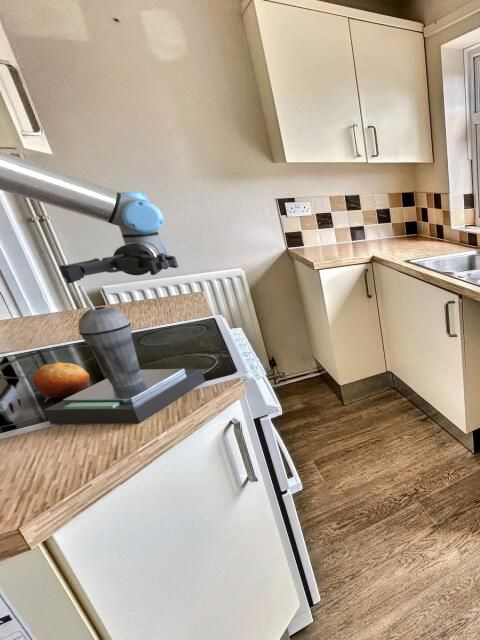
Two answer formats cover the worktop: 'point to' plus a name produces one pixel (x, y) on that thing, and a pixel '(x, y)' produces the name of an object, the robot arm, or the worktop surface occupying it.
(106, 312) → the beverage cup
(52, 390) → the fruit
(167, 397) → the scale
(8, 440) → the worktop surface
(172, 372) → the scale pan
